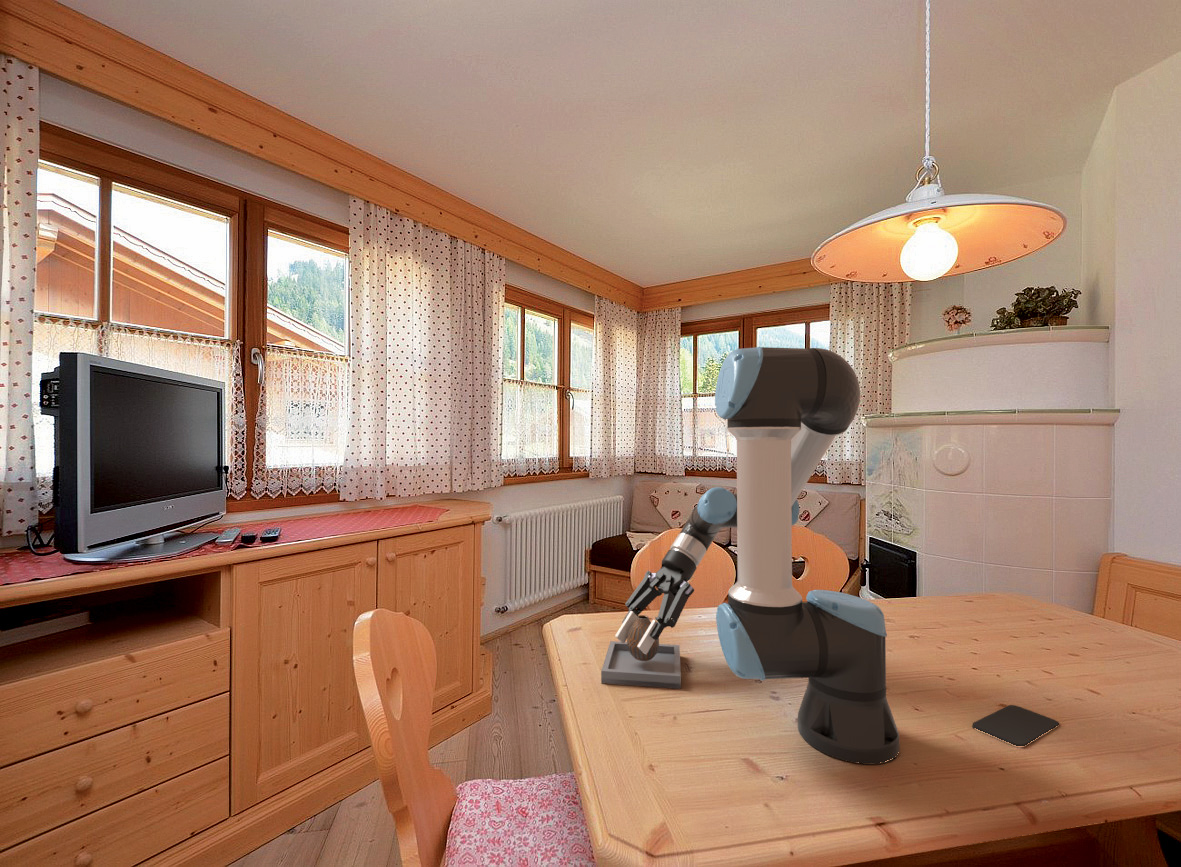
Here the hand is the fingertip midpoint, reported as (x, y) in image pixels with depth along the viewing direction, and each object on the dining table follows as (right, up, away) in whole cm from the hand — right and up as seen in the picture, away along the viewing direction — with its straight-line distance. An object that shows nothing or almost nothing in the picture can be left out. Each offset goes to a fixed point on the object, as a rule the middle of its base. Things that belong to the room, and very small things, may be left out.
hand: (630, 644), depth 110 cm
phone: (+65, -6, -21) cm, 69 cm away
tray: (+3, -6, +2) cm, 7 cm away
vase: (+3, -4, +2) cm, 5 cm away
